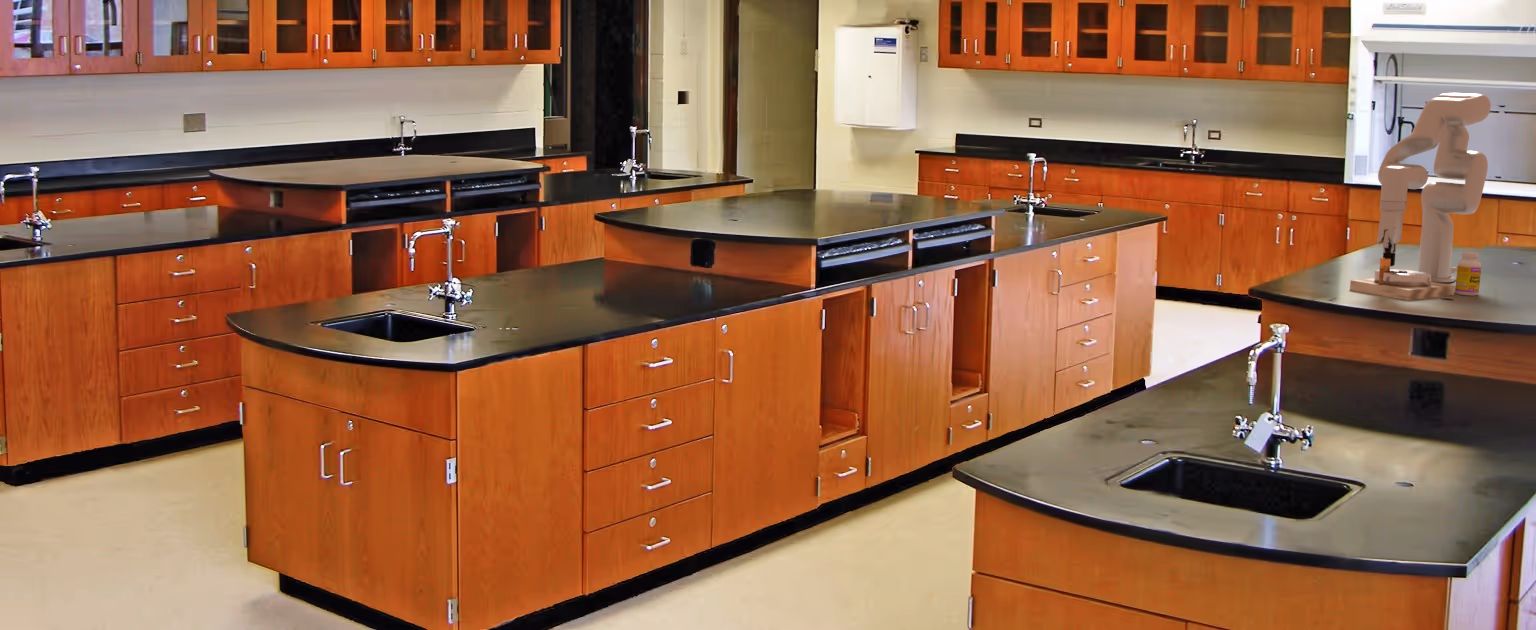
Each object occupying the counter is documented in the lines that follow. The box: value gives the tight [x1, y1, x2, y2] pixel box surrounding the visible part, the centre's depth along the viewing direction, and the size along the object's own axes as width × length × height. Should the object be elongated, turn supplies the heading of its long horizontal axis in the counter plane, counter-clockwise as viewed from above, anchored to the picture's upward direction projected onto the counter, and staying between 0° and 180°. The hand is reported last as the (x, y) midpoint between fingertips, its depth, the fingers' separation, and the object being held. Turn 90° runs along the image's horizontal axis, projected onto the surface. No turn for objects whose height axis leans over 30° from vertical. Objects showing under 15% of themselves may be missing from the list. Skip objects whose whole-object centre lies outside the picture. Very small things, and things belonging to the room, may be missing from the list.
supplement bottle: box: [1454, 251, 1482, 297], centre depth 473 cm, size 7×7×13 cm
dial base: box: [1349, 267, 1455, 301], centre depth 475 cm, size 21×21×8 cm
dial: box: [1373, 257, 1431, 287], centre depth 474 cm, size 16×16×7 cm
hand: (1388, 265), depth 480 cm, fingers closed
